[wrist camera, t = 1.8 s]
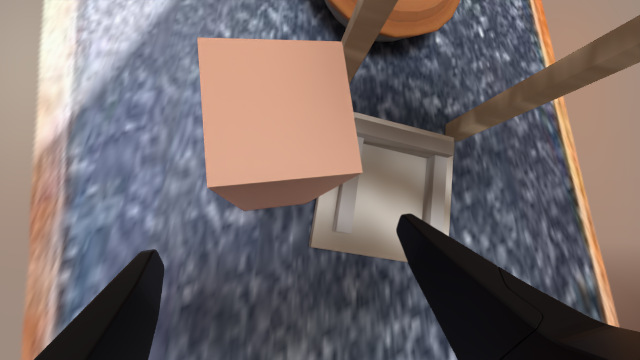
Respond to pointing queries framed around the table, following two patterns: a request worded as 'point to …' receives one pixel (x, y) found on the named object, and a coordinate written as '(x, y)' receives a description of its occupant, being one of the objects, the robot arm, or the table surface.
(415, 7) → the pie
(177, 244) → the table surface
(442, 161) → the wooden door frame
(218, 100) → the block
